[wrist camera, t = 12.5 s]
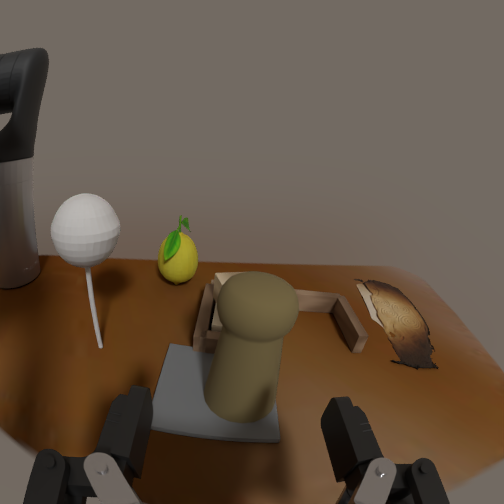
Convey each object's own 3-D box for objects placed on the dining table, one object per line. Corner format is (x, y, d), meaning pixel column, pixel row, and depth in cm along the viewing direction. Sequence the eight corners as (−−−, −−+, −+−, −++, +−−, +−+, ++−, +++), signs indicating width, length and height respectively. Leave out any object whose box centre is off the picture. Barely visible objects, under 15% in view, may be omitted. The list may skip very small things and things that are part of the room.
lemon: (186, 270, 42) (190, 207, 38) (207, 287, 38) (214, 218, 35) (147, 279, 38) (148, 211, 34) (165, 298, 34) (167, 223, 30)
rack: (192, 355, 25) (193, 336, 24) (205, 295, 36) (207, 279, 35) (366, 364, 27) (375, 347, 26) (338, 308, 38) (342, 294, 37)
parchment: (352, 278, 49) (353, 274, 49) (396, 285, 49) (398, 281, 48) (389, 372, 26) (392, 366, 26) (449, 371, 26) (452, 366, 25)
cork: (229, 360, 24) (245, 253, 20) (286, 388, 22) (322, 281, 18) (188, 397, 19) (191, 280, 15) (253, 435, 17) (288, 324, 13)
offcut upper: (228, 327, 26) (232, 302, 25) (212, 296, 31) (215, 273, 30) (265, 323, 28) (270, 298, 27) (245, 294, 33) (248, 271, 32)
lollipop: (137, 336, 26) (133, 190, 21) (117, 374, 20) (97, 205, 15) (88, 323, 26) (75, 186, 20) (63, 356, 20) (34, 199, 15)
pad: (147, 428, 16) (145, 424, 16) (170, 347, 26) (170, 343, 25) (278, 442, 17) (280, 439, 17) (268, 359, 26) (270, 355, 26)
